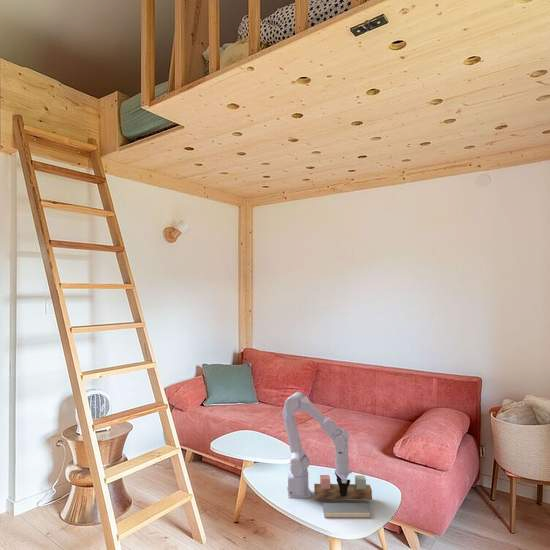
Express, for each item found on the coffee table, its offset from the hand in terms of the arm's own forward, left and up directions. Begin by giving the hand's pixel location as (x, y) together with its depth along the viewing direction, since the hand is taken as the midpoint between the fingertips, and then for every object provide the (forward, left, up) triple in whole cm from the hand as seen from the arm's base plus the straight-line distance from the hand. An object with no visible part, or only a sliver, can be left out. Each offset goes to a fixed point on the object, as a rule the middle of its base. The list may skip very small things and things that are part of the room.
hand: (342, 492), depth 172 cm
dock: (0, -9, -3) cm, 10 cm away
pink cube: (-7, 0, +2) cm, 8 cm away
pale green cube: (+8, 0, +2) cm, 8 cm away
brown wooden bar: (0, 0, -2) cm, 2 cm away
